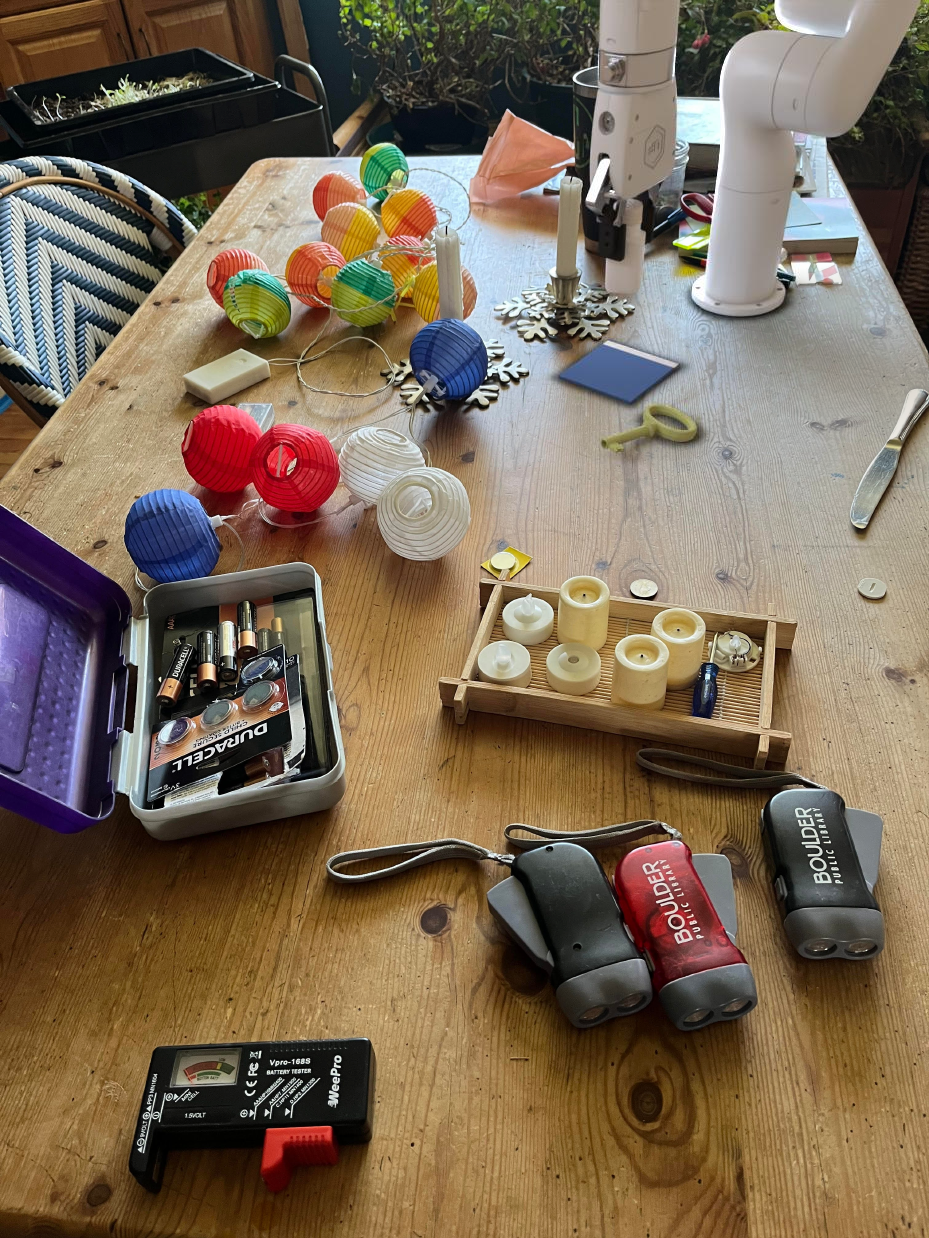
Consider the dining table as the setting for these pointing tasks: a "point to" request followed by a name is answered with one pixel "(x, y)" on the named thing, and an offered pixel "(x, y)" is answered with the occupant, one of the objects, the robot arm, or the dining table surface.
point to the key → (653, 428)
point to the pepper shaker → (628, 254)
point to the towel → (619, 371)
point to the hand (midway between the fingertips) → (626, 247)
